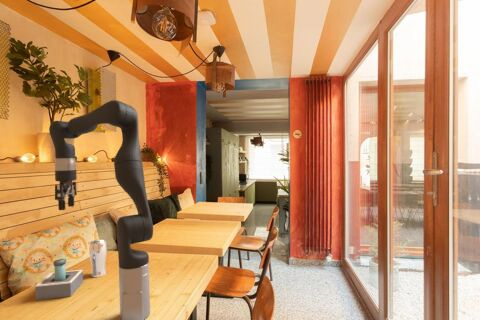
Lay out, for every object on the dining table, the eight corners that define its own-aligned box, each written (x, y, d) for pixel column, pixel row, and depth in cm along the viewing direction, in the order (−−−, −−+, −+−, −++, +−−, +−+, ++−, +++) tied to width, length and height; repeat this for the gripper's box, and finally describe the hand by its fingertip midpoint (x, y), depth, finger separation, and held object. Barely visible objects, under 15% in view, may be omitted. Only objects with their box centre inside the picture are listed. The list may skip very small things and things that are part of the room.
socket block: (70, 296, 102) (70, 282, 102) (35, 300, 100) (35, 285, 100) (83, 282, 114) (82, 269, 114) (51, 285, 112) (51, 272, 112)
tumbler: (103, 270, 127) (102, 238, 127) (110, 273, 122) (109, 240, 122) (87, 275, 121) (86, 242, 121) (93, 279, 117) (93, 245, 117)
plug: (64, 292, 106) (63, 262, 105) (52, 293, 105) (51, 263, 105) (68, 287, 110) (67, 258, 110) (57, 288, 109) (56, 259, 109)
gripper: (68, 169, 106) (69, 210, 106) (82, 168, 120) (83, 204, 120) (46, 170, 104) (48, 212, 104) (63, 169, 118) (64, 205, 118)
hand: (66, 208), depth 112 cm, fingers open, 8 cm apart
